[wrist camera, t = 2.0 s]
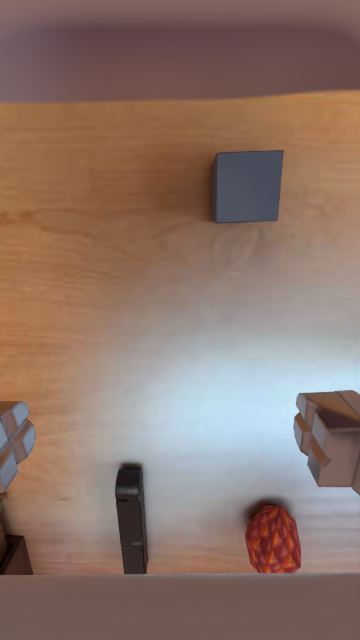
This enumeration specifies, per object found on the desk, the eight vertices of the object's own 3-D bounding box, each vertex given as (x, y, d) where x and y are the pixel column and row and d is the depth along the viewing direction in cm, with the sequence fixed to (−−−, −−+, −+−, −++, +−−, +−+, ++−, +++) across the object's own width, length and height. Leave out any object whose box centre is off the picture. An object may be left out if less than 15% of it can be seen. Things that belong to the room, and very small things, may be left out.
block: (210, 222, 22) (215, 223, 18) (211, 164, 20) (216, 152, 16) (261, 220, 21) (277, 220, 18) (265, 162, 20) (283, 149, 16)
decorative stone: (288, 492, 35) (272, 555, 35) (243, 485, 33) (225, 551, 33) (326, 530, 29) (307, 607, 28) (273, 524, 27) (252, 605, 27)
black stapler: (119, 462, 31) (113, 487, 28) (142, 462, 31) (138, 487, 28) (129, 561, 37) (125, 589, 34) (148, 561, 37) (145, 590, 34)
